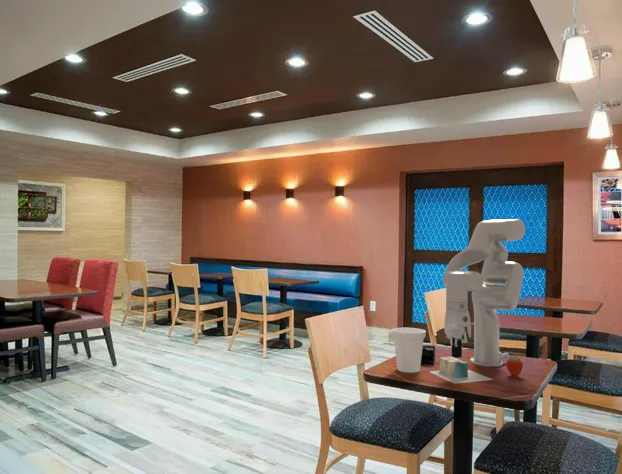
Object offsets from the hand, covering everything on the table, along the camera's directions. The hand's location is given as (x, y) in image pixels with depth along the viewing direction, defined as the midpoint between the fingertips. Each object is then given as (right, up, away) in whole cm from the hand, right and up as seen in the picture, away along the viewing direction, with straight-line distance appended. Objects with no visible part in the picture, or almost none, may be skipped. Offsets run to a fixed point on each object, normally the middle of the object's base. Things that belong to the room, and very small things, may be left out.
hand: (456, 356), depth 174 cm
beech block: (+1, -4, -3) cm, 5 cm away
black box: (-8, -7, +20) cm, 23 cm away
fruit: (+21, -7, 0) cm, 22 cm away
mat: (+1, -7, 0) cm, 7 cm away
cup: (-16, -7, +6) cm, 19 cm away
